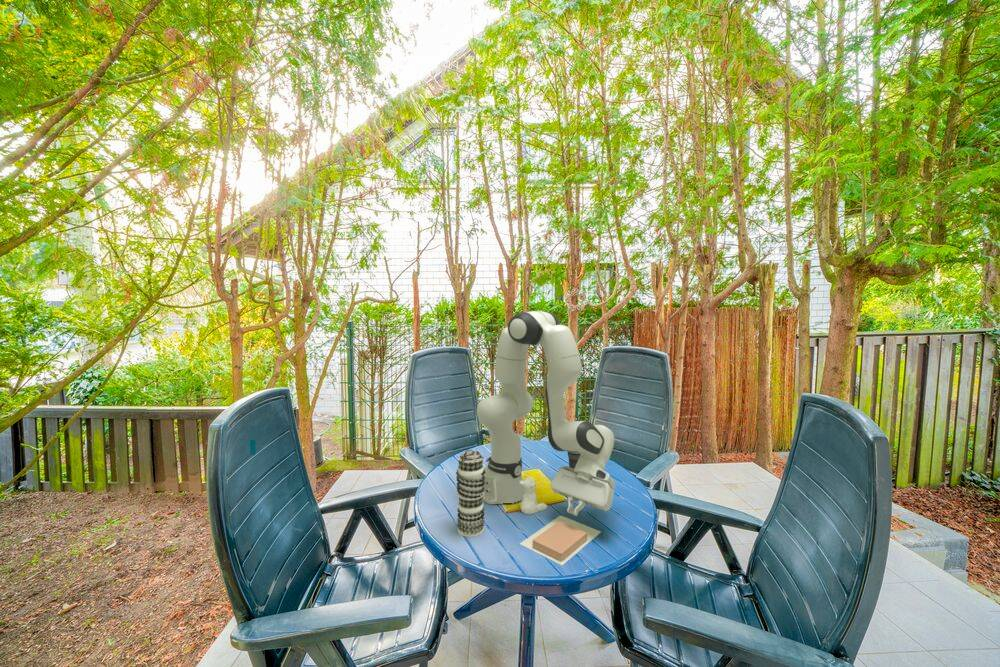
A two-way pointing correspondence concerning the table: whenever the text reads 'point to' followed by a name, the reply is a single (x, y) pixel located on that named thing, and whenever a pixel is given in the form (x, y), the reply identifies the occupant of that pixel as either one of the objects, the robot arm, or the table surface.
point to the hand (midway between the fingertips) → (571, 513)
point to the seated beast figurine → (530, 498)
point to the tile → (559, 540)
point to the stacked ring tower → (470, 493)
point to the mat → (590, 531)
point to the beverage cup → (573, 458)
